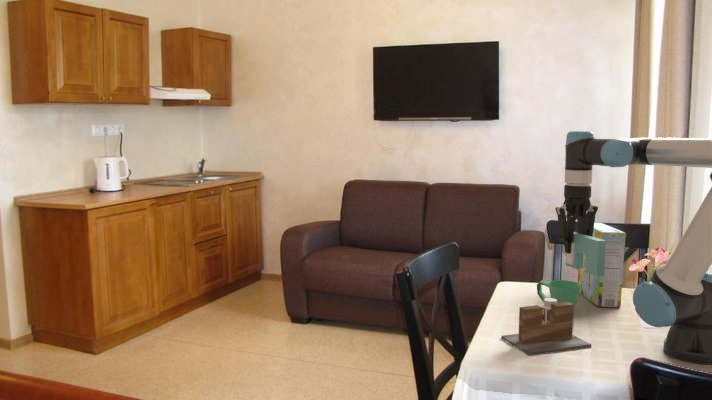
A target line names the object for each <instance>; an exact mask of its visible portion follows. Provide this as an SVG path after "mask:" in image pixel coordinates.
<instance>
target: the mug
mask: <svg viewBox="0 0 712 400" xmlns="http://www.w3.org/2000/svg"><path fill="white" fill-rule="evenodd" d="M542 286H545V287H547V288H548V290H549V295H550V298H554V299H557V303H562V302H570V303H572V304H574V309H573V311H574V310H575V308H576V305H577V302H578V298H579V295H580V293H579V292H580V288H581V285H580V284H579V286H578V282H577V281H572V280H565V279H564V280H563V279H562V280H561V279H557V280H551V281H546V280H540V281H539V282H537V284H536V291H537V292H536V293H537V296H538V297H539V298H540V299H541V301H542V302H543V301H544V299H545V298H547V297H546V296H545V294H544V292H543V290H542Z"/></svg>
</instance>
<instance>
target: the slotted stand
mask: <svg viewBox="0 0 712 400" xmlns="http://www.w3.org/2000/svg"><path fill="white" fill-rule="evenodd" d="M573 309H574V310H575V308H574V304H572V303H570V302H562V303H553V304H551V317H550V321H544V322H542V306H540V305H538V304H536V305H528V306H527V305H526V306H519V311H518V312H519V314H518V315H519V316H518V333H515V334H514V333H513V334H503V335H501V336H500V337H501V338H502V340H503V339H504V340H503V341H505V342H506V341H507V342H506V343H508V344H509V343H510V345H511V346H512V347H514V346H515V348H516V349H517V348H518V351H521V352H522V353H524V354H526V355H527V356H535V355H541V354H550V353H558V352H565V351H574V350H579V349H588V348H592V343H590V342H588V341H586V340H584V339H582V338H580V337H577V336H576V335H575V334H573V331H574V330H573V329H574V310H573ZM501 338H500V339H501Z"/></svg>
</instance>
